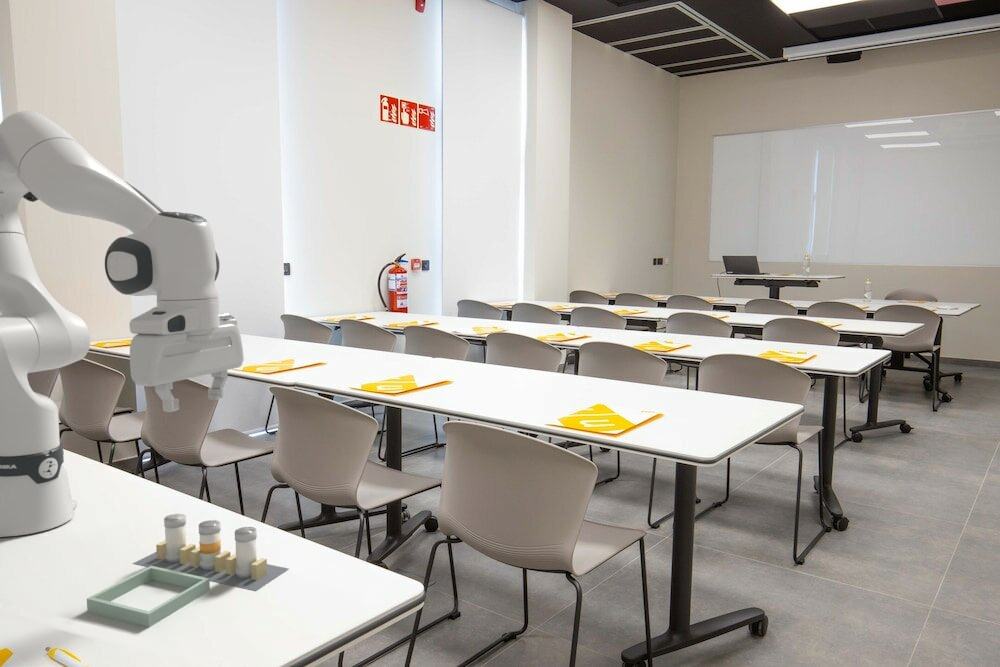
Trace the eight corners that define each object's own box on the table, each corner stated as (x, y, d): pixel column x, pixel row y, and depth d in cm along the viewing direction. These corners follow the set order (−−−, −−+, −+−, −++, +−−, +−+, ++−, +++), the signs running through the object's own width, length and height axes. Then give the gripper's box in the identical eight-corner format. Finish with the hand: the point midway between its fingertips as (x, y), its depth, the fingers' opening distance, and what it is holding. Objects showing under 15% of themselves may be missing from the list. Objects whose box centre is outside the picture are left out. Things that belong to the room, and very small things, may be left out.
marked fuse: (195, 568, 114) (193, 525, 113) (210, 560, 117) (208, 518, 116) (211, 572, 112) (210, 529, 112) (225, 563, 115) (224, 521, 115)
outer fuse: (231, 576, 111) (230, 532, 110) (245, 567, 114) (244, 525, 113) (248, 580, 110) (247, 536, 109) (261, 571, 113) (260, 528, 112)
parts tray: (87, 619, 100) (86, 598, 100) (151, 584, 111) (151, 565, 110) (149, 635, 96) (148, 614, 96) (210, 597, 107) (209, 578, 106)
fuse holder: (133, 570, 115) (132, 549, 115) (171, 551, 122) (170, 530, 122) (256, 598, 107) (255, 575, 106) (289, 575, 114) (289, 554, 114)
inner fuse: (161, 560, 116) (159, 519, 115) (176, 553, 119) (174, 512, 118) (176, 564, 115) (175, 522, 114) (191, 556, 118) (190, 515, 117)
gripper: (220, 311, 122) (224, 391, 124) (119, 323, 103) (126, 417, 105) (250, 312, 120) (254, 393, 122) (153, 323, 101) (159, 420, 103)
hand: (194, 404), depth 113 cm, fingers open, 8 cm apart
